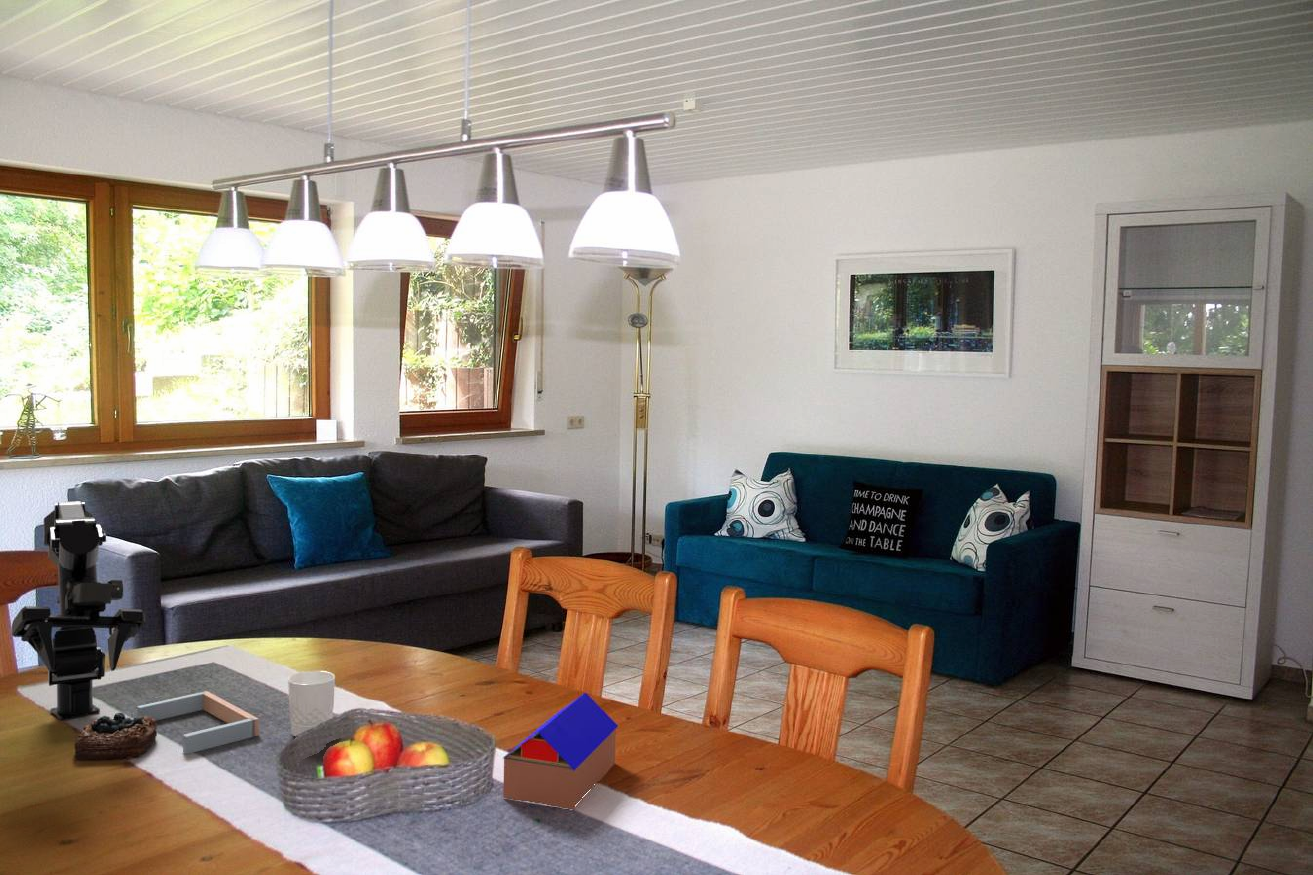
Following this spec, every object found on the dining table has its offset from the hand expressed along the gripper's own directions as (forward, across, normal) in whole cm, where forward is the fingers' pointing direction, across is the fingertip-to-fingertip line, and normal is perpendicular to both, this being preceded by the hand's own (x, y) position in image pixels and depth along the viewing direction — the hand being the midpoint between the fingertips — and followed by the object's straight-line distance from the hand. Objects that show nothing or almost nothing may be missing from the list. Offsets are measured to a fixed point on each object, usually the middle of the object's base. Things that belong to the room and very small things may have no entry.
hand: (83, 669), depth 167 cm
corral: (+7, +21, +10) cm, 24 cm away
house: (+40, +56, -40) cm, 79 cm away
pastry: (+10, +8, +11) cm, 17 cm away
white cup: (+14, +36, -3) cm, 39 cm away
